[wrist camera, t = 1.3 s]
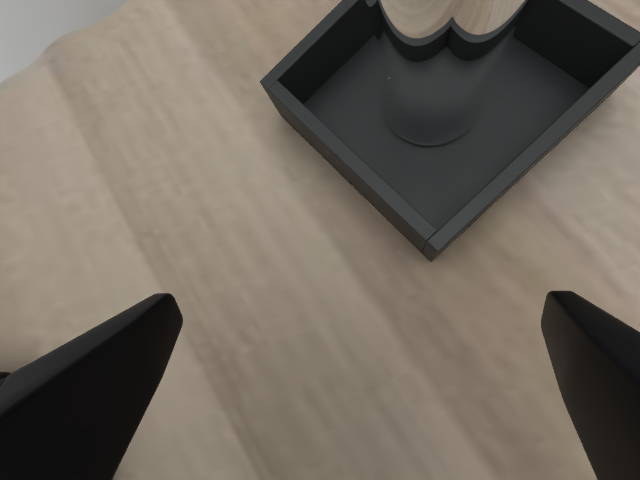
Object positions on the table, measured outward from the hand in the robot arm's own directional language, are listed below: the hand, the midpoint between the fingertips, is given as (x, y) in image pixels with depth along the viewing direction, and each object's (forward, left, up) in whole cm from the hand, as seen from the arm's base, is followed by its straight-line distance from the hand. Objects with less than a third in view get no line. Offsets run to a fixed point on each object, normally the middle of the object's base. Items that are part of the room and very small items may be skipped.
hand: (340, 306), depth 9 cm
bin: (+7, -12, -14) cm, 19 cm away
